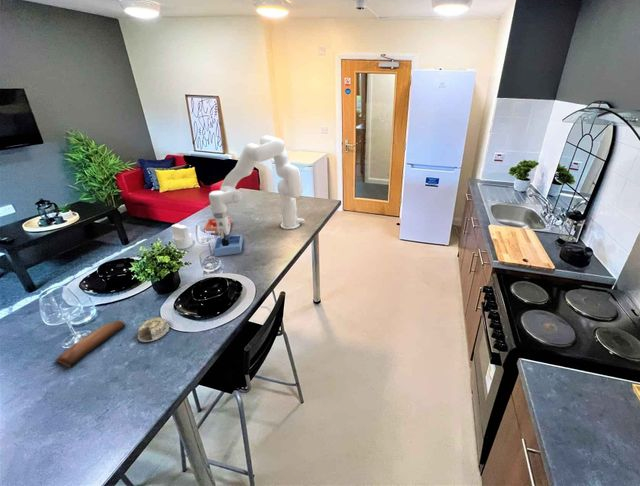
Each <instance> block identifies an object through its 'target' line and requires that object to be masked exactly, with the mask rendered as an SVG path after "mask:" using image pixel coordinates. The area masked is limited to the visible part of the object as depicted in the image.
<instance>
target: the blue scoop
mask: <svg viewBox="0 0 640 486" xmlns="http://www.w3.org/2000/svg"><path fill="white" fill-rule="evenodd" d="M219 237H221V235H220V236H219ZM224 237H225V236H224ZM237 237H238V236H235V235H230V233H229V234H228V235H227V239H228V242H229V244H231V240H230V239H233V238H237ZM221 242H222V241H221Z"/></svg>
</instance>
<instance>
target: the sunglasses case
mask: <svg viewBox="0 0 640 486" xmlns="http://www.w3.org/2000/svg"><path fill="white" fill-rule="evenodd" d="M124 327H126V324H125V322H124V321H122V320H115V321H113V322H109V323H106V324H103V325H102V326H100V327H99V328H96V329H95V330H93V331H91V332H89V333H88V334H86V335H84V336H83V337H81V338H80V339H79V340H78V341H77V342H76V343H74V344H73V345H72V346H70V347H69V348H68V349H66V350H65V351H64V352H62V353H61V354H60V355H59V356H58V357H57V358H56V359H55V360H56V362H58V363H59V364H61V365H63V366H66V367H68V368H71V367H73V366H74V365H76V364H77V363H78V362H80V360H82V359H83V358H84V357H85V356H87V354H89V353H90V352H92V351H93V350H94V349H95V348H97V347H99V346H100V345H101V344H102V343H104V342H105V341H106V340H107V339H109V338H111V337H112V336H113V335H114V334H116V333H117V332H119V331H120V330H122V329H123V328H124Z"/></svg>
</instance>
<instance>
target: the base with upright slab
mask: <svg viewBox="0 0 640 486" xmlns="http://www.w3.org/2000/svg"><path fill="white" fill-rule="evenodd" d="M171 229H172V234H173V236H172V240H173V244H174V246H175V245H176V246H177V248H178V249H179V250H182V249H183V250H184V249H188V248H190V247H191V246H193V245H194V239H193V236H192V233H191V232H190V231H189V228H188V226H187V225H183V224H179V223H174V224H172V225H171ZM177 248H176V249H177Z"/></svg>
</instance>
